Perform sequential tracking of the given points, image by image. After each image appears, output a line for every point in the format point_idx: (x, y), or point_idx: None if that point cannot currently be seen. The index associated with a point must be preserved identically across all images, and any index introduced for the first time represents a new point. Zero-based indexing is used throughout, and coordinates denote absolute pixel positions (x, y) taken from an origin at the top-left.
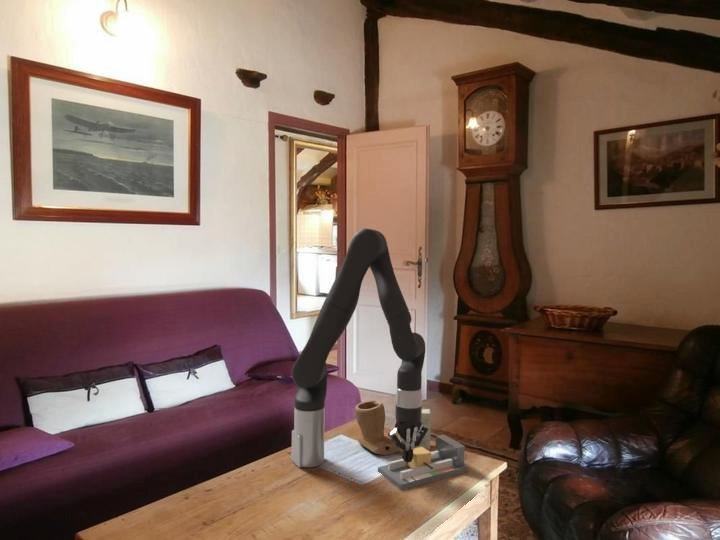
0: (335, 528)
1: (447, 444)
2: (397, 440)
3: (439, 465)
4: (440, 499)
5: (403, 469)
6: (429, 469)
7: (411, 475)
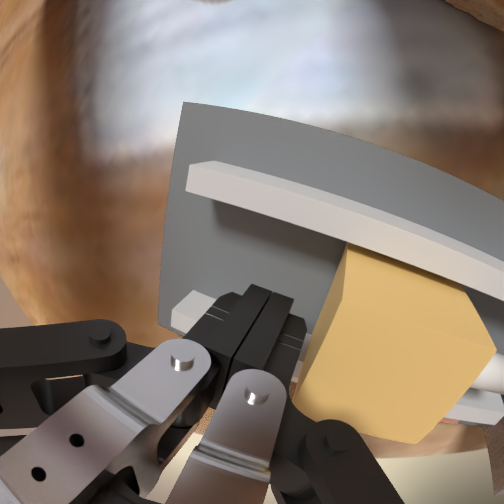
0: (8, 278)
1: None
2: (11, 413)
3: None
4: None
5: (289, 241)
6: None
7: None
